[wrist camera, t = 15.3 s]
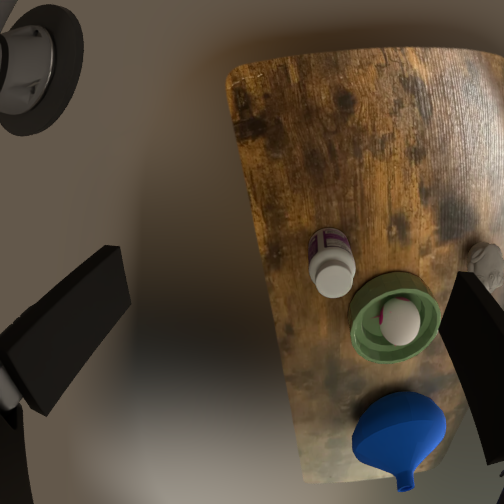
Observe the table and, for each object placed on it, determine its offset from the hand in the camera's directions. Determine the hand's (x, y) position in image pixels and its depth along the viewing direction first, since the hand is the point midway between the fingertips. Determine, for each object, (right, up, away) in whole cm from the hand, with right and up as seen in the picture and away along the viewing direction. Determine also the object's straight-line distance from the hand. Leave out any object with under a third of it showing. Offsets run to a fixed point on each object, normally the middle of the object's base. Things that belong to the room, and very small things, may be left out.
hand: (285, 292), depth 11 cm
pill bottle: (+9, +2, +30) cm, 31 cm away
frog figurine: (+31, +1, +26) cm, 41 cm away
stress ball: (+19, -7, +31) cm, 38 cm away
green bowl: (+19, -7, +32) cm, 38 cm away
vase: (+27, -29, +41) cm, 57 cm away
